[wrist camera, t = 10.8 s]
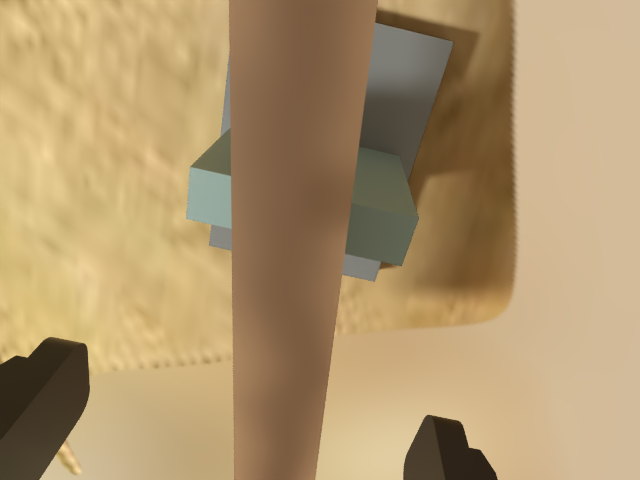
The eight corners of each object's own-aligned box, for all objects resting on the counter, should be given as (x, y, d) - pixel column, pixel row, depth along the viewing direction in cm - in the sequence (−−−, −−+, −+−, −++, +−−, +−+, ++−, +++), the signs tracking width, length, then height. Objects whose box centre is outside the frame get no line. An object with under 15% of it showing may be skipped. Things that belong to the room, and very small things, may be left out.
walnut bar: (250, 418, 26) (234, 484, 22) (260, -168, 13) (226, -231, 10) (318, 426, 25) (313, 493, 22) (392, -156, 13) (406, -215, 10)
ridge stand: (215, 235, 32) (158, 328, 23) (242, -11, 24) (175, -21, 15) (373, 270, 32) (382, 375, 23) (448, 40, 25) (505, 59, 16)
